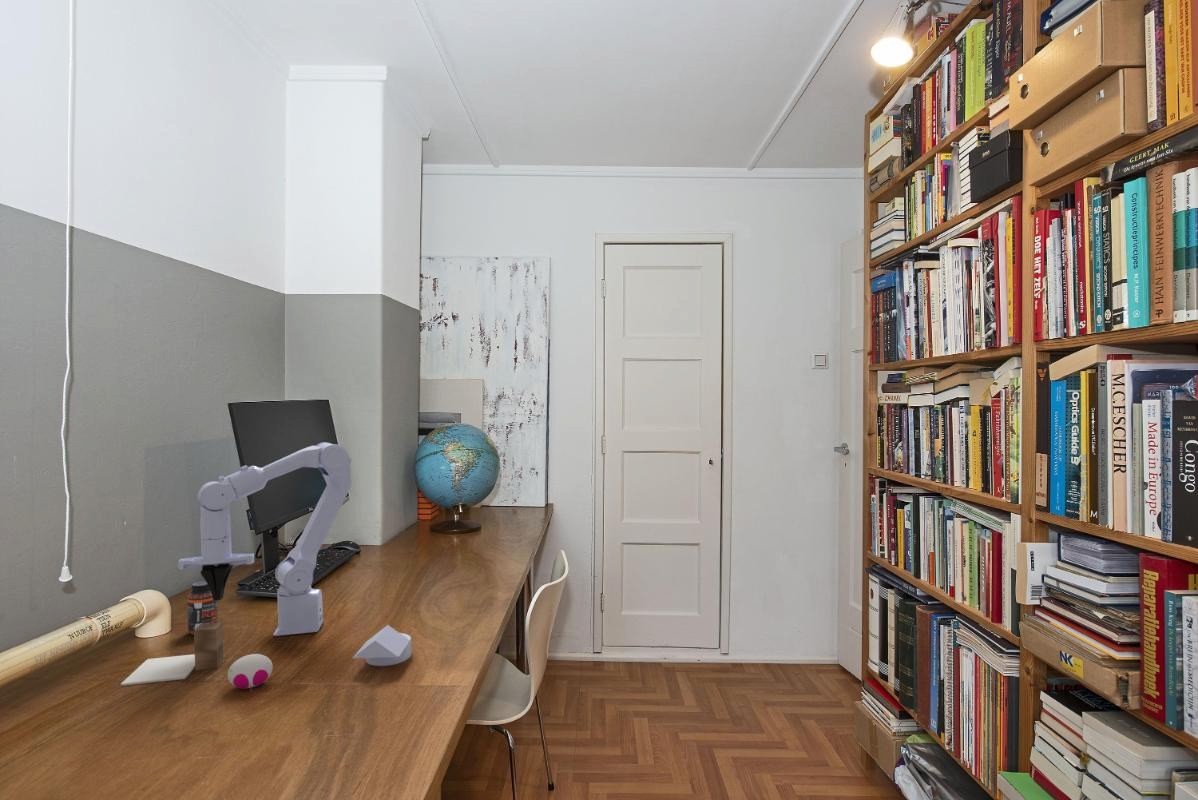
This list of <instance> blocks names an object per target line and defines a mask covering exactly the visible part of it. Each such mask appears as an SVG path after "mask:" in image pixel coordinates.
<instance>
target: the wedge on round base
mask: <svg viewBox="0 0 1198 800" xmlns="http://www.w3.org/2000/svg"><path fill="white" fill-rule="evenodd" d="M411 656H412V638H411V635H408V634H407V633H403V632H399V631H397V630H396V629H395V628H393V627H392V626H390V625H389V624H387V625H386V626H385V627H383V628H382V629H381V630H379V631H377V633H376V634H374V635H373V636H372V637H371V638H369V639H368V640H367V641H365V642H364V644H363V645H362V646H361V647H360V649H359V650H358V651H357V652H356V653H355V654H354V656H352V659H365V662H366V663H367V664H368V665H370V666H376V667H385V666H392V665H398V664H401V663H402V662H405V661H407V660H408V659H409V658H411Z"/></svg>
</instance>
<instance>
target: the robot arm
mask: <svg viewBox="0 0 1198 800" xmlns="http://www.w3.org/2000/svg"><path fill="white" fill-rule="evenodd" d="M350 456H351V455H349V453H348V450H347V449H346V448H345V447H344V446H343V445H340V444H335V443H334V444H333V443H331V442H326V441H325V442H320V443H317V444H316V445H310V446H307V447H305V448H302V449H299V450H298V451H295V452H293V453H291V454H289V455H287V456H284V457H282V458H281V459H278V460H275V461H274V462H272V463H269V464H266V465H264V466H263V467H259V466H257V465H251V466H248V465H243V466H241V467H240V470H239V471H237V472H234V473H231V474H229V475H227V476H224V475H220V476H219V477H218V481H215V480H213V481H208V482H206V483H205V484H203V485H202V486H201V487H200V488H199V491H198V494H197V495H196V498H197V501H198V503H200V518H199V523H200V524H199V525H200V549H201V550H200V551H201V554H200V555H201V556H194V557H185V558H180V559H179V560H178V563H177V564H178V570H185V569H196V568H201V570H200V575H201V577H202V578H203V579H204V581H206V582H207V584H208V586H209V588H210V591H211V593H212V597H213V600H217V601H221V600H222V599H223V598H224V592H225V588H226V584H227V581H228V578H229V576H230V573H231V572H232V570H233V567H234V566H236V565H237V566H238V565H252V564H254V563H255V553H232V532H231V531H232V529H231V515H230V504H231V503H232V501H234V502H235V501H238V500H240V499H243V498H245V497H247V496H250V495H252V494H254V493H257V492H259V491H261V490H263V489H264V488H265V486H266V485H267V483H268V481H270V480H273V479H276V478H278V477H281V476H283V475H285V474H288V473H290V472H293V471H295V470H298V469H301V468H314V469H318V470H319V471H320V472H321V474H322V476H323V479H324V481H325V483H326V486H325V488H324V490H323V492H322V494H321V496H320V498H319V500H318V502H317V503H316V506H315V508H314V509H313V512H312V513H311V515H310V518H309V519H308V522H307V523H306V525H305V526H304V527H305V528H304V529H303V531H302V534H301V535H300V538H299V539H298V541H297V543H296V545H295V547H293V548H292V549H291V550H289V552H288V554H287V556H286V558H284V559H283V560H282V561H281V562H280V563H279V564H278V565H277V567H276V569H275V571H274V572H275V573H274V575H275V579H276V581H277V582H278V583H279V584H280V585H279V587H278V589H277V592H276V593H277V596H276V597H277V619H278V620H277V621H278V627H276V629H275V631H274V632H273V635H272V636H274V637H280V636H289V635H290V636H291V635H297V634H300V635H301V634H307V633H310V634H311V633H317V632H319V631H320V628H321V626H322V624H323V623H324V613H323V593H322V589H319V588H312V584H313V581H314V571H315V569H316V566H317V559H318V558H317V556H318V554H319V551H320V550H321V548H322V545H323V543H324V541H325V539H326V537H327V536H328V533H329V531H330V529H331V528H332V525H333V523H334V521H335V519H336V517H337V515H338V513H339V511H340V509H341V508H342V505H343V503H344V501H345V499H346V497H347V495H348V493H349V491H350V490H351V487H352V472H351V464H352V459H351V457H350Z"/></svg>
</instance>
